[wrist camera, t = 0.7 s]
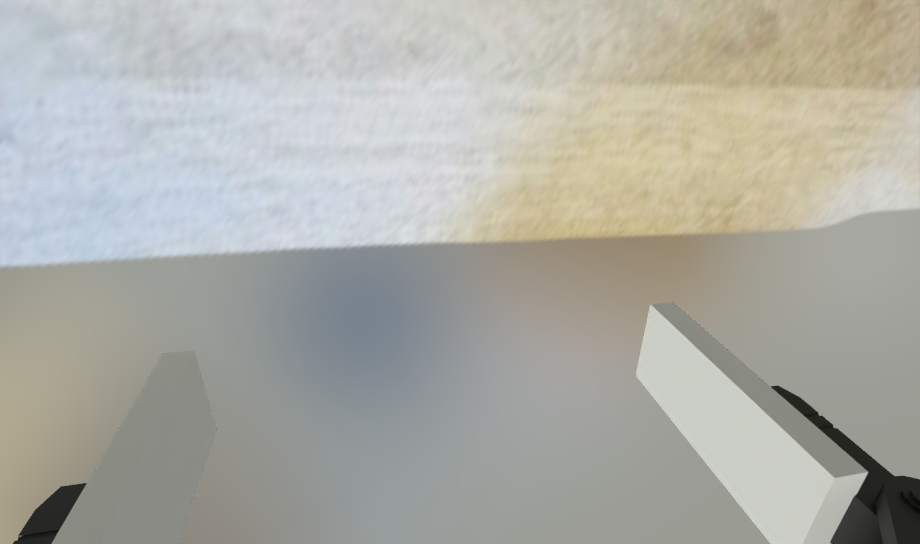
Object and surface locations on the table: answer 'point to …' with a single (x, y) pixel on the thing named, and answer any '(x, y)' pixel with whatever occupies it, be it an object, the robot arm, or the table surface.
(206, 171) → the table surface
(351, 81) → the table surface
